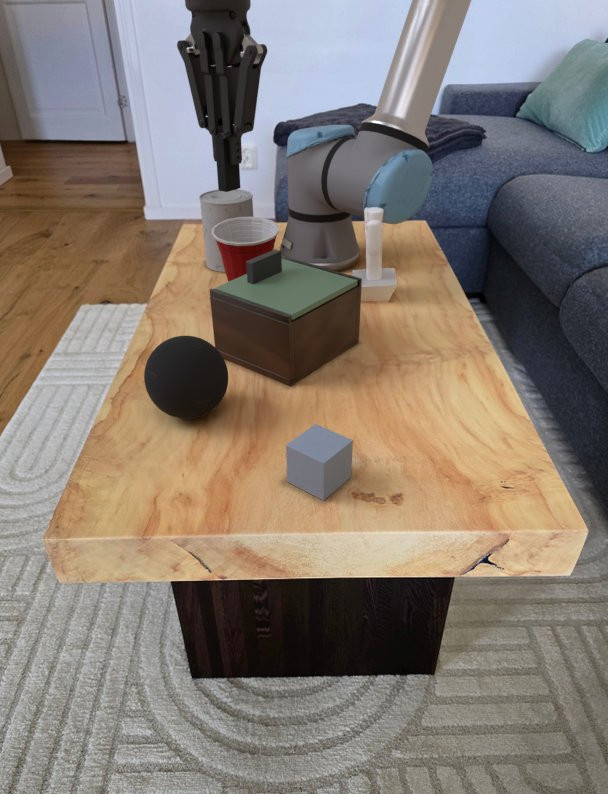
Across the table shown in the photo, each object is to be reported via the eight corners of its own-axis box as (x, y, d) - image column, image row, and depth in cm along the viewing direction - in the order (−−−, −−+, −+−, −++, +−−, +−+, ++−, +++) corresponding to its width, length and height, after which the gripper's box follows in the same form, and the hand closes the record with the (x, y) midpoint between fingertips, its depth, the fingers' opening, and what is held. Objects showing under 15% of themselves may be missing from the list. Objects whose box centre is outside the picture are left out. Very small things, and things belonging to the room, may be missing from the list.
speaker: (240, 395, 83) (234, 324, 77) (218, 439, 75) (210, 364, 69) (167, 388, 84) (156, 318, 78) (138, 430, 76) (123, 357, 70)
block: (315, 459, 72) (315, 423, 69) (351, 477, 69) (353, 440, 66) (286, 482, 68) (285, 444, 65) (323, 501, 66) (324, 463, 63)
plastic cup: (210, 310, 104) (203, 236, 97) (225, 284, 113) (219, 215, 105) (275, 313, 103) (273, 239, 96) (286, 287, 111) (284, 217, 104)
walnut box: (287, 317, 101) (285, 256, 95) (358, 342, 94) (362, 278, 88) (215, 355, 91) (208, 289, 85) (290, 386, 84) (288, 317, 78)
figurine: (393, 285, 112) (394, 197, 103) (397, 308, 105) (398, 216, 95) (352, 287, 113) (350, 200, 103) (353, 310, 105) (350, 219, 96)
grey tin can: (233, 250, 126) (228, 186, 119) (266, 262, 121) (263, 195, 114) (195, 263, 121) (188, 196, 113) (229, 276, 116) (223, 207, 108)
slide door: (282, 263, 95) (281, 238, 93) (357, 285, 88) (358, 258, 86) (214, 293, 86) (212, 266, 84) (292, 320, 80) (291, 291, 77)
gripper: (151, -32, 72) (175, 186, 86) (235, -33, 66) (246, 203, 80) (199, -30, 77) (214, 176, 91) (281, -31, 70) (284, 191, 84)
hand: (229, 189), depth 85 cm, fingers closed
